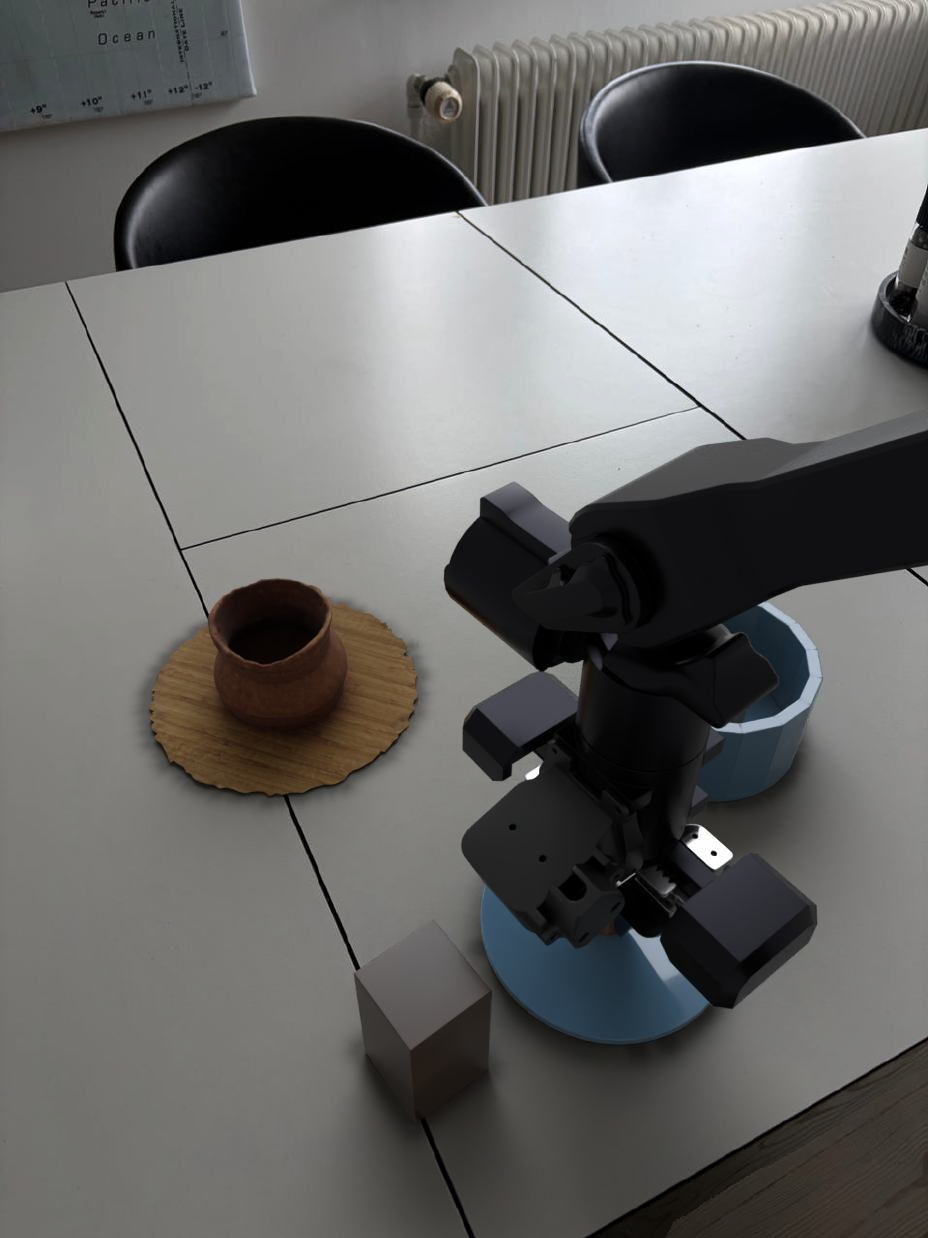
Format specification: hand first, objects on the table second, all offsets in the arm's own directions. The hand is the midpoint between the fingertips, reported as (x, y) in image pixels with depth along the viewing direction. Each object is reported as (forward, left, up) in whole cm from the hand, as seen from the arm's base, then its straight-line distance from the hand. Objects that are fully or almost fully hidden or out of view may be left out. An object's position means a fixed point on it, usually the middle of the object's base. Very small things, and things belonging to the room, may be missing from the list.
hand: (606, 911), depth 54 cm
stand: (0, +12, -2) cm, 12 cm away
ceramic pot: (+26, +5, -2) cm, 27 cm away
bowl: (+7, -15, -2) cm, 17 cm away
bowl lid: (0, 0, -1) cm, 1 cm away
